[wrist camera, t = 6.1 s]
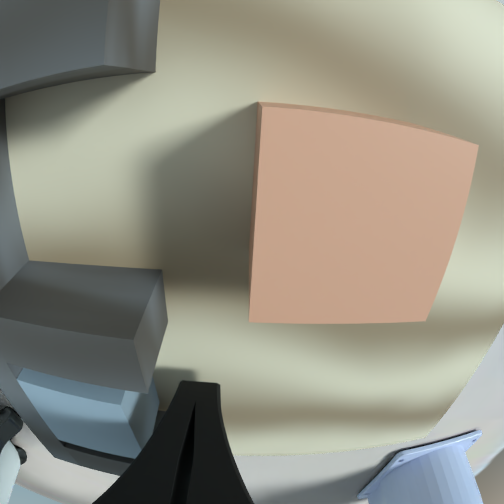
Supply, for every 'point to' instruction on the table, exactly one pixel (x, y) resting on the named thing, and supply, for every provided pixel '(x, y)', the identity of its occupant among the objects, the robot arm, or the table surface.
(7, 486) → the coffee press
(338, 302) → the peach square block
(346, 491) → the table surface
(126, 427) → the slate-blue plug
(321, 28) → the comb board
